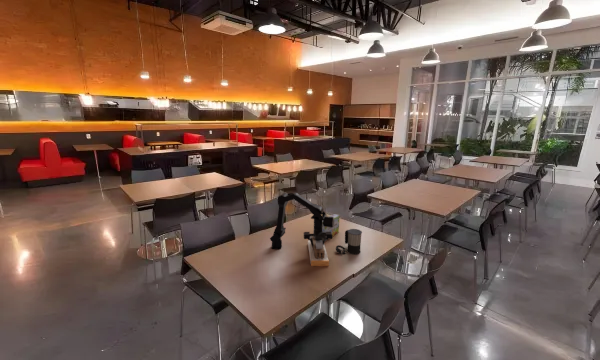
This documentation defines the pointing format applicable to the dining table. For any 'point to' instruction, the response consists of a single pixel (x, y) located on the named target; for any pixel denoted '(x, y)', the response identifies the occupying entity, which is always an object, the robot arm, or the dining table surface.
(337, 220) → the snack box
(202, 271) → the dining table surface
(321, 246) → the crate
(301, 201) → the robot arm
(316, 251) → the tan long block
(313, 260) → the panel
